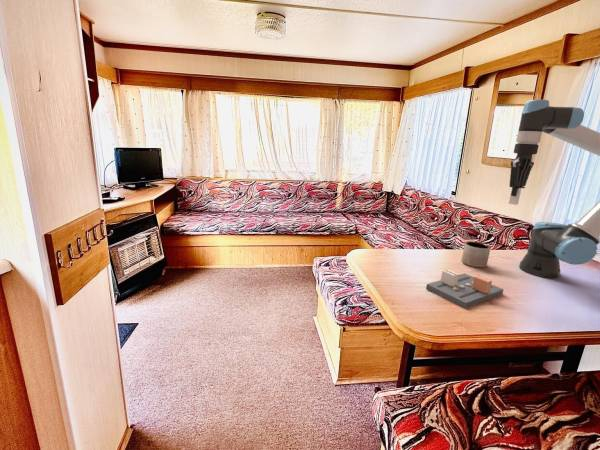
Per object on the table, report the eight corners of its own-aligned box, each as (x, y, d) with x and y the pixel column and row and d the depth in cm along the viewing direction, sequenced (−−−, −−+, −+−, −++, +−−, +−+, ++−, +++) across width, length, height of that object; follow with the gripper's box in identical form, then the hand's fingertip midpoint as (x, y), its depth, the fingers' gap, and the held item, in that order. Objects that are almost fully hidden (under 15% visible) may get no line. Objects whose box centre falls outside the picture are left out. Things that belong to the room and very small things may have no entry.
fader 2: (476, 286, 122) (479, 275, 121) (489, 291, 118) (492, 280, 117) (472, 287, 121) (474, 276, 119) (485, 293, 117) (487, 281, 115)
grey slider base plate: (463, 277, 135) (464, 272, 134) (502, 294, 122) (504, 287, 121) (426, 288, 123) (427, 282, 122) (464, 308, 110) (466, 301, 109)
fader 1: (445, 280, 126) (447, 269, 125) (456, 285, 122) (459, 274, 121) (440, 281, 125) (442, 270, 124) (452, 286, 121) (454, 275, 120)
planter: (490, 269, 146) (494, 249, 143) (464, 266, 148) (468, 247, 145) (482, 261, 156) (486, 242, 153) (458, 258, 158) (461, 240, 155)
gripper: (525, 143, 128) (511, 201, 134) (507, 142, 121) (494, 203, 127) (546, 144, 122) (531, 204, 128) (529, 143, 115) (514, 207, 121)
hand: (513, 203), depth 128 cm, fingers closed
